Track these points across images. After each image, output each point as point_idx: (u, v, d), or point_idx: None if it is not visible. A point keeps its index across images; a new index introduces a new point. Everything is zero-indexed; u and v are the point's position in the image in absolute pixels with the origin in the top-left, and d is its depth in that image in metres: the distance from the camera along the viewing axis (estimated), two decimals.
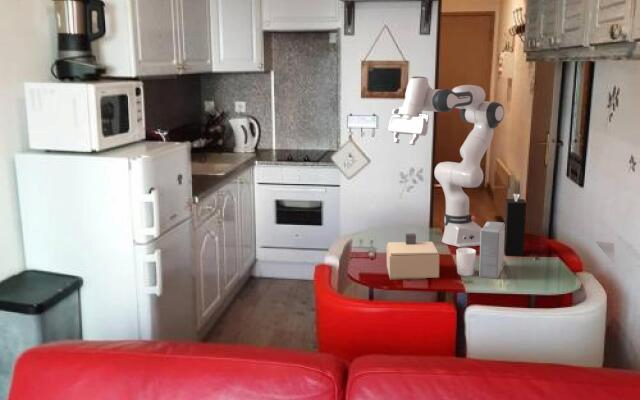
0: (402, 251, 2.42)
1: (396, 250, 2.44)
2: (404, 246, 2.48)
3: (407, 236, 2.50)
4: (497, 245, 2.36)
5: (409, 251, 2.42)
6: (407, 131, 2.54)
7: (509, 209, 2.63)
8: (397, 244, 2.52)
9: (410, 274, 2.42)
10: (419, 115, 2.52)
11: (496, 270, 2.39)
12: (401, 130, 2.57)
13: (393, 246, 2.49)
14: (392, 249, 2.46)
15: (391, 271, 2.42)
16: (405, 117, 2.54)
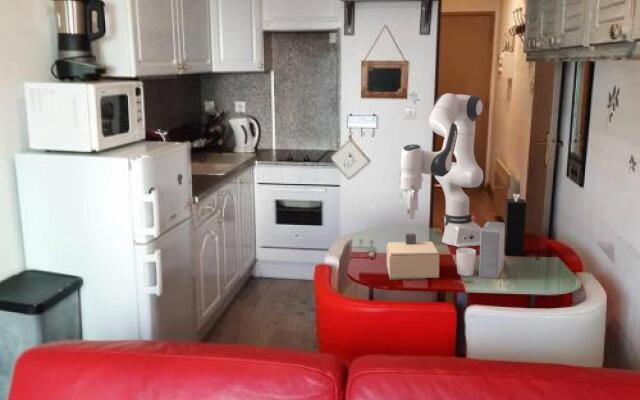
0: (402, 251, 2.42)
1: (396, 250, 2.44)
2: (404, 246, 2.48)
3: (407, 236, 2.50)
4: (497, 245, 2.36)
5: (409, 251, 2.42)
6: (407, 205, 2.47)
7: (509, 209, 2.63)
8: (397, 244, 2.52)
9: (410, 274, 2.42)
10: (411, 188, 2.42)
11: (496, 270, 2.39)
12: None
13: (393, 246, 2.49)
14: (392, 249, 2.46)
15: (391, 271, 2.42)
16: (403, 190, 2.47)
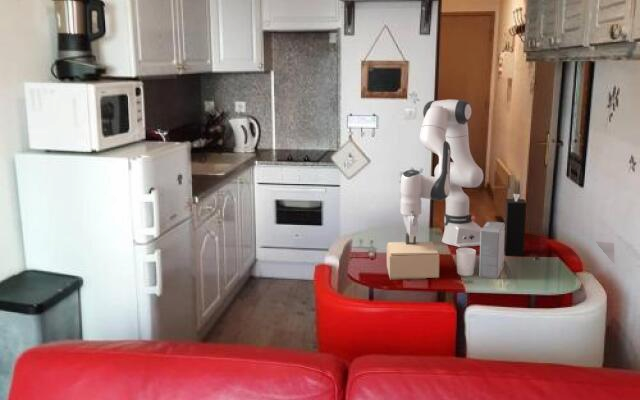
0: (402, 251, 2.42)
1: (396, 250, 2.44)
2: (404, 246, 2.48)
3: (407, 236, 2.51)
4: (497, 245, 2.36)
5: (409, 251, 2.42)
6: None
7: (509, 209, 2.63)
8: (397, 244, 2.52)
9: (410, 274, 2.42)
10: (411, 214, 2.44)
11: (496, 270, 2.39)
12: None
13: (393, 246, 2.49)
14: (392, 249, 2.46)
15: (391, 271, 2.42)
16: (403, 215, 2.50)
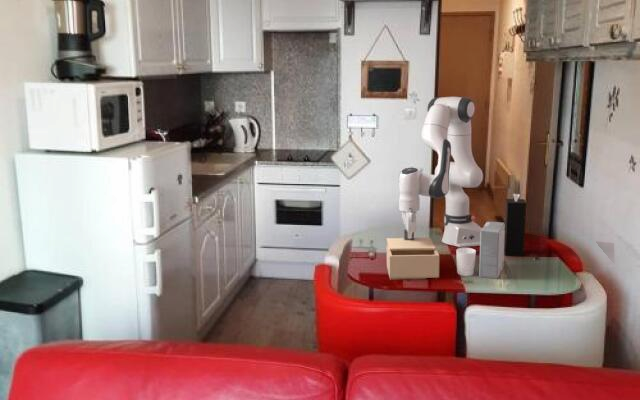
0: (400, 246, 2.48)
1: (395, 246, 2.50)
2: (403, 242, 2.54)
3: (405, 232, 2.56)
4: (497, 245, 2.36)
5: (407, 246, 2.48)
6: (405, 226, 2.55)
7: (509, 209, 2.63)
8: (396, 240, 2.58)
9: (410, 274, 2.42)
10: (409, 211, 2.50)
11: (496, 270, 2.39)
12: (404, 223, 2.59)
13: (392, 242, 2.55)
14: (391, 244, 2.52)
15: (391, 271, 2.42)
16: (402, 212, 2.56)
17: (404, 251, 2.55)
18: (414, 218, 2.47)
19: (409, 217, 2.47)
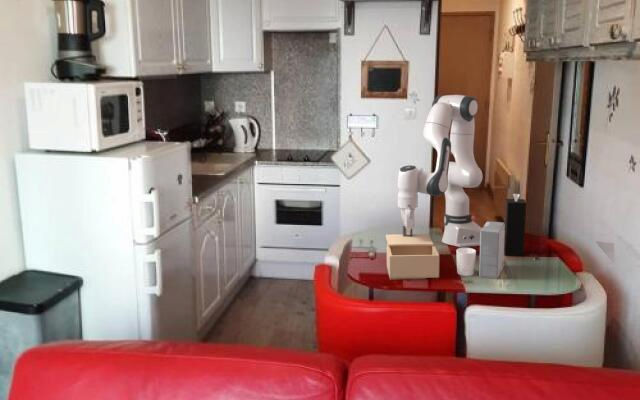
0: (399, 242, 2.54)
1: (393, 242, 2.55)
2: (401, 238, 2.60)
3: (404, 228, 2.62)
4: (497, 245, 2.36)
5: (406, 242, 2.54)
6: None
7: (509, 209, 2.63)
8: (394, 236, 2.63)
9: (410, 274, 2.42)
10: (408, 207, 2.56)
11: (496, 270, 2.39)
12: (403, 220, 2.64)
13: (391, 238, 2.60)
14: (390, 240, 2.57)
15: (391, 271, 2.42)
16: (400, 209, 2.61)
17: (404, 251, 2.55)
18: (412, 215, 2.52)
19: (407, 214, 2.53)
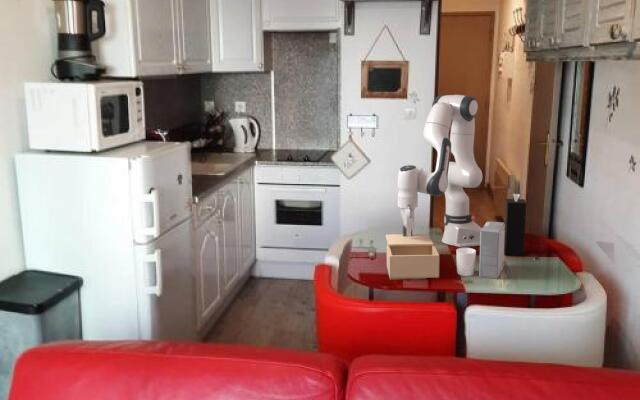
0: (399, 242, 2.54)
1: (393, 241, 2.55)
2: (401, 238, 2.60)
3: (404, 228, 2.62)
4: (497, 245, 2.36)
5: (406, 242, 2.54)
6: None
7: (509, 209, 2.63)
8: (394, 236, 2.63)
9: (410, 274, 2.42)
10: (408, 207, 2.56)
11: (496, 270, 2.39)
12: (403, 220, 2.65)
13: (391, 238, 2.61)
14: (390, 240, 2.57)
15: (391, 271, 2.42)
16: (400, 209, 2.62)
17: (404, 251, 2.55)
18: (412, 214, 2.53)
19: (407, 213, 2.53)
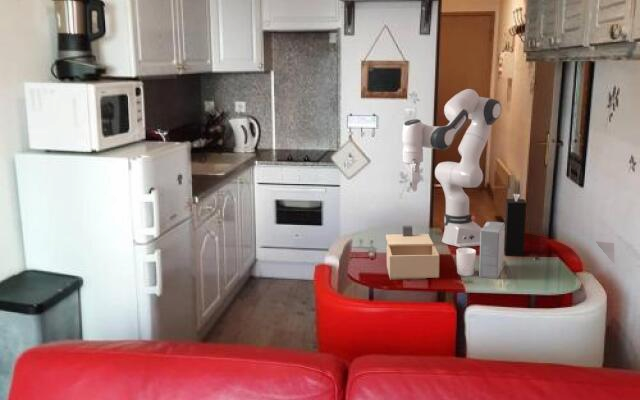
0: (399, 242, 2.54)
1: (393, 241, 2.55)
2: (401, 238, 2.60)
3: (404, 228, 2.62)
4: (497, 245, 2.36)
5: (406, 242, 2.54)
6: (409, 177, 2.57)
7: (509, 209, 2.63)
8: (394, 236, 2.63)
9: (410, 274, 2.42)
10: (413, 162, 2.52)
11: (496, 270, 2.39)
12: (408, 175, 2.61)
13: (391, 238, 2.61)
14: (390, 240, 2.57)
15: (391, 271, 2.42)
16: (405, 164, 2.58)
17: (404, 251, 2.55)
18: (418, 168, 2.49)
19: (413, 167, 2.49)
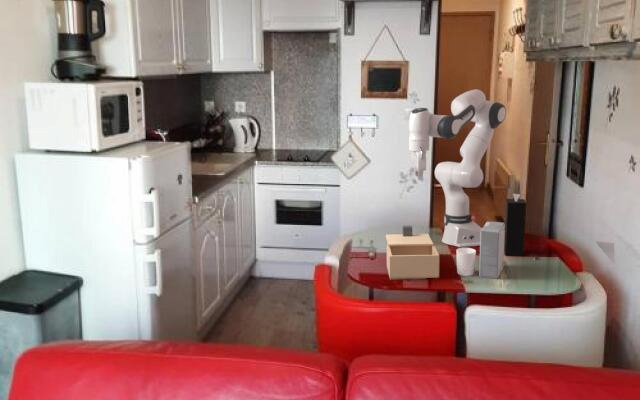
0: (399, 242, 2.54)
1: (393, 241, 2.55)
2: (401, 238, 2.60)
3: (404, 228, 2.62)
4: (497, 245, 2.36)
5: (406, 242, 2.54)
6: (415, 166, 2.57)
7: (509, 209, 2.63)
8: (394, 236, 2.63)
9: (410, 274, 2.42)
10: (419, 150, 2.52)
11: (496, 270, 2.39)
12: (414, 164, 2.60)
13: (391, 238, 2.61)
14: (390, 240, 2.57)
15: (391, 271, 2.42)
16: (411, 152, 2.57)
17: (404, 251, 2.55)
18: (424, 156, 2.48)
19: (419, 155, 2.48)
